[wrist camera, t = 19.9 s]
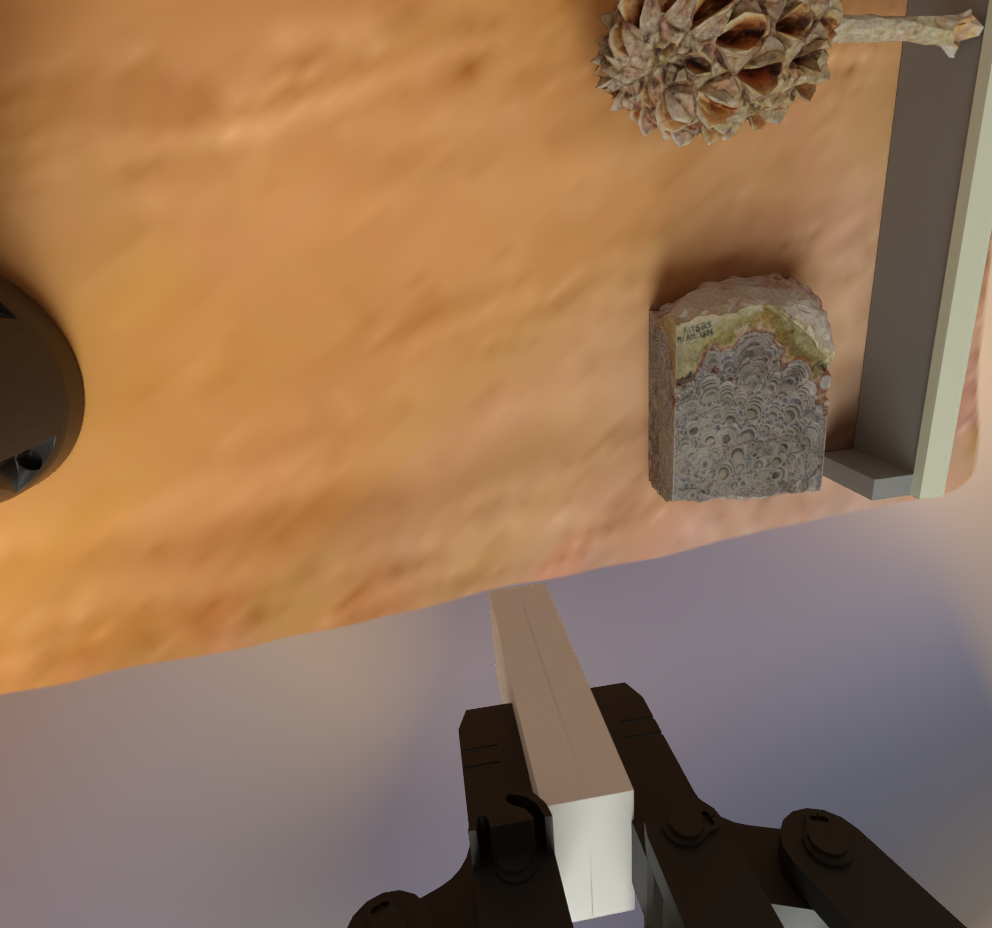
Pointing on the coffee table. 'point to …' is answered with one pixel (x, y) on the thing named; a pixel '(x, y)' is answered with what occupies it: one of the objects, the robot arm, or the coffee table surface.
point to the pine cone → (738, 58)
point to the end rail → (925, 266)
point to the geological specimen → (739, 390)
